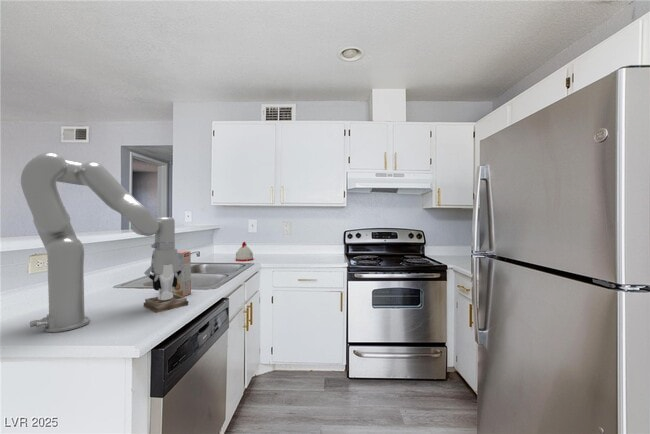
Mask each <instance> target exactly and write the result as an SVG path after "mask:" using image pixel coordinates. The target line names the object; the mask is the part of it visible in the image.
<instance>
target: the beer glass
mask: <svg viewBox="0 0 650 434" xmlns="http://www.w3.org/2000/svg"><path fill="white" fill-rule="evenodd" d="M163 267H164V269H163V274H160V275H159V277H158V281H159V290H158V291H157V292H158V293H157V297H158V298H157V300H158V301H167V300H171V299H173V293H172V288H173V282H174V272H173V267H172V264H169V265H163Z"/></svg>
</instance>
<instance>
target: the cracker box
mask: <svg viewBox="0 0 650 434" xmlns="http://www.w3.org/2000/svg"><path fill="white" fill-rule="evenodd" d="M177 251H178V256H179V264H181V265H182V266H183V267H184V269H183V271H182V272H181V273H180V275H179V276H178V278H177V285H176V287H173V288H172V293H175V294H178V295H181V296H183V297H185V296H189V295H191V294H192V272H191V271H192V267H191V266H192V265H191V264H192V263H191V262H192V261H191V259H192V258H191V250H190V251H189V250H188V251H186V250H183V251H182V250H177Z"/></svg>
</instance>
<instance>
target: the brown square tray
mask: <svg viewBox="0 0 650 434" xmlns="http://www.w3.org/2000/svg"><path fill="white" fill-rule="evenodd" d="M157 298H158V296H153V297H149V298H145V299H144V302H143V307H145V308H146V309H149V310H150V311H152V312H154V313H155V314H157V313H162V312H164V311H169V310H172V309H177V308H180V307H185V306H189V301H188V299H187V297H185V296H181V295H178V294H175V293H173V299H171V300H167V301H158V300H157Z"/></svg>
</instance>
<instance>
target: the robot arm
mask: <svg viewBox="0 0 650 434" xmlns="http://www.w3.org/2000/svg"><path fill="white" fill-rule="evenodd" d="M57 183H63V184H64V183H66V184H71V185H76V186H77V185H78V186H84V187H86V186H87V187H88V188H89V189H90V190H91V191H92V192H93V193H94V194H95V195H96V196H97V197H98V198H99V199H100V200H101V201H102V202H103V203H104V204H105V205H106V206H108V207H109V208H110V209H112V210H113V211H115V212H117V213H118V214H120V215H121V216H123V217H124V218H125V220H127V221H128V222H129V223H131V230H132V231H133V232H134V233H135V234H136V235H139V236H145V237H152V236H154V243H152V244H151V245H150V248H151V249H152V248H153V251H152V254H151V262H150V264H151V265H150V266H149V267H148V268H147V269H146V270H145V271H144V273H143V274H144V275H146V276H147V277H148V278H149V279H151V281H152V288H153V291H157V292H158V290H159V281H158V277H159V275H160V274H163V269H164V267H163V265H169V264H172V267H173V272H174V282H173V287H176V285H177V278H178V276H179V275H180V273H181V272H182V271H183V269H184V267H183V266H182V265H181V264H179V256H178V251H179V250H178V248H176V242H175V241H176V239H175V238H176V237H175V235H176V234H175V232H176V231H175V229H176V228H175V224H176V223H175V222H176V221H175V218H174V217H171V216H164V217H163V216H162V217H161V216H160V217H159V216H158V217H155V216H154V214H152V213H151V212H150V211H149V209H148V208H146V206H145V205H143V204H142V203H141V202H139V201H138V199H137V198H136V197H134V196H133V195H132V194H131V193H130V192H129V191H128V190H127V189H125V187H124V186H123V185H122V184H121V183H120V182H119V181H118V180H117V179H116V178H115V177H114V176H113V174H111V172H109V170H108V169H107V168H106V167H105V166H103V165H102V164H101V163H99V162H98V161H97V162H96V161H88V162H83V163H82V162H76V161H71V160H66V159H65V157H63V156H61V155H60V154H58V153H55V152H50V151H49V152H43V153H40V154H38V155H36V156H35V157H32V159H31V160H29V161H28V162H27V163H26V165H24V168H23V169H22V171H21V175H20V186H21V190H22V193H23V196H24V198H25V200H26V203H27V205H28V208H29V210H30V212H31V213H30V214H31V215H32V219H33V224H34V226H35V230H36V231H37V233H38V235H39V238H40V241H41V242H42V244H43V247H44V249H45V250H46V251H45V252H46V255H47V284H48V289H47V290H48V294H47V295H48V314H46V317H42V319H35V320H34V319H33V320H30V322H29V326H30V328H33V327H36V328H38V327H42V331H43V332H45V333H46V332H47V333H59V332H66V331H71V330H75V329H79V328H82V327H83V326H87V325H88V324H90V322H91V317H89V316H85V278H84V276H85V275H84V273H85V272H84V263H85V248H84V243H82V241H81V240H80V239H78V237H77V235H76V233H75V231H74V229H73V225H72V223H71V217H70V214H69V213H68V211H67V210H66V207H65V205H64V203H63V200H62V198H61V196H60V195H61V194H60V192H59V190H58V187H57Z"/></svg>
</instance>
